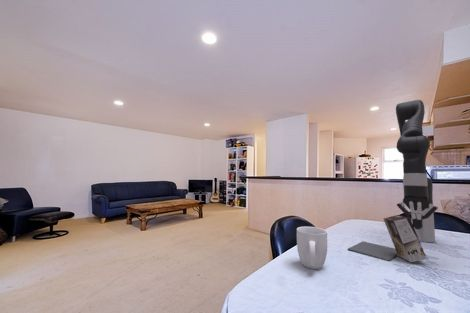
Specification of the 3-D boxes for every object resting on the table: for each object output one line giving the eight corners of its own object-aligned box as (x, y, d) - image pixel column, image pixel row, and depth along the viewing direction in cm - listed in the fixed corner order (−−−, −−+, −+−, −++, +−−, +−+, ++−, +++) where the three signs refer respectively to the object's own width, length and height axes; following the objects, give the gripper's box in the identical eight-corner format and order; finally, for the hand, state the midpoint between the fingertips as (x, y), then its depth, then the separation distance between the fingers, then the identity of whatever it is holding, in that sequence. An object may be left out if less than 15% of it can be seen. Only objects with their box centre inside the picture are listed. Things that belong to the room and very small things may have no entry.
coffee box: (428, 259, 82) (410, 217, 85) (410, 262, 82) (393, 221, 86) (413, 252, 90) (397, 214, 94) (397, 255, 91) (382, 218, 94)
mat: (362, 242, 108) (362, 241, 108) (401, 251, 96) (401, 250, 96) (347, 250, 97) (347, 248, 97) (389, 261, 85) (389, 259, 85)
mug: (331, 279, 69) (330, 238, 71) (296, 274, 73) (295, 235, 74) (326, 261, 84) (325, 227, 85) (297, 258, 87) (296, 225, 88)
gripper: (438, 185, 84) (442, 231, 82) (397, 184, 94) (399, 225, 92) (436, 185, 79) (439, 233, 77) (392, 184, 89) (394, 226, 87)
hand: (417, 228), depth 84 cm, fingers closed
